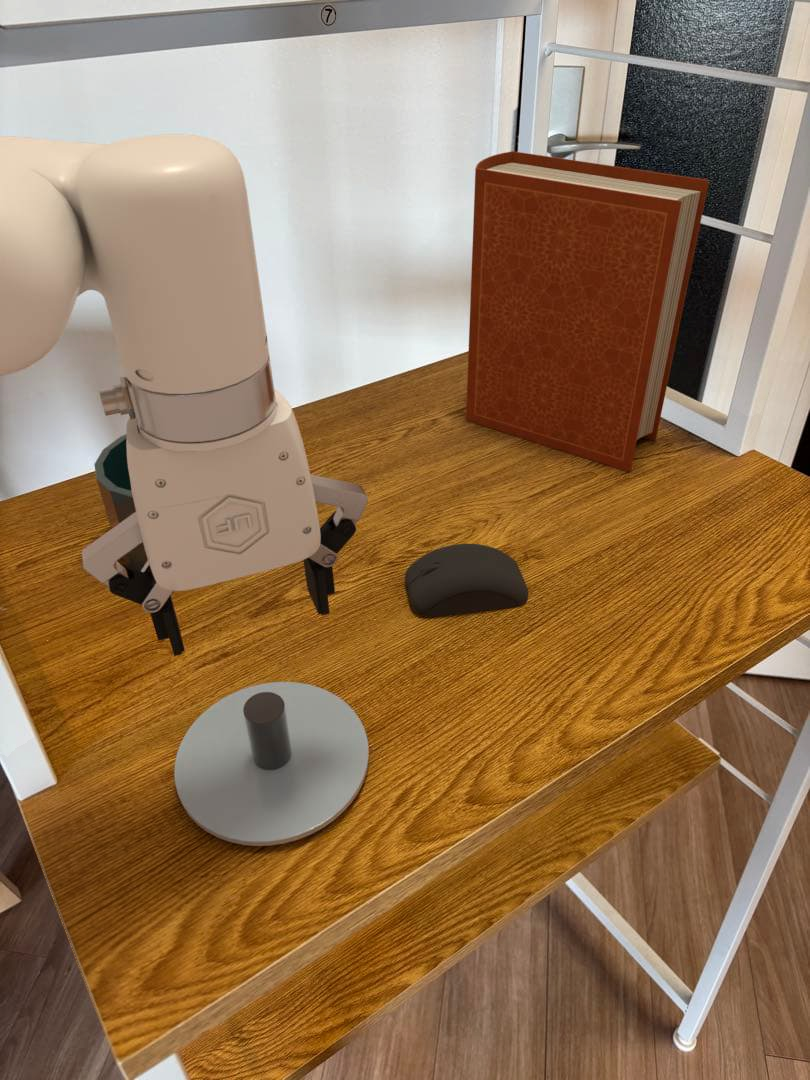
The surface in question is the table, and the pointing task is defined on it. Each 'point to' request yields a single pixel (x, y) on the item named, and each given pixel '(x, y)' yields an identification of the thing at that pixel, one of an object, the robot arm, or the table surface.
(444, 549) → the computer mouse
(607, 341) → the book
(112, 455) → the tin
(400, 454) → the table surface
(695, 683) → the table surface
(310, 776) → the lid
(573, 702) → the table surface
